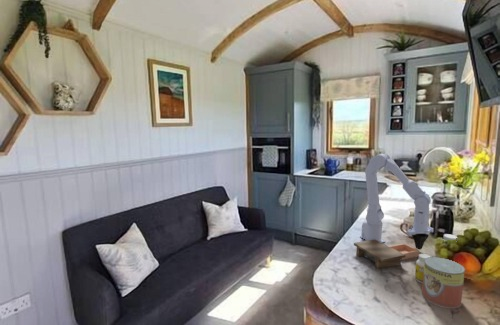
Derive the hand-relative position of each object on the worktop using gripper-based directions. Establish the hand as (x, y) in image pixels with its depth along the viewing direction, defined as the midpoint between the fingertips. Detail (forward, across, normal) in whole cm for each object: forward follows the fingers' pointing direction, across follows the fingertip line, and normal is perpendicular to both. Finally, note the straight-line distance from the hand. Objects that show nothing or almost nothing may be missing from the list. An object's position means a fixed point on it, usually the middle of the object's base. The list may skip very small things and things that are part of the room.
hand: (418, 248), depth 132 cm
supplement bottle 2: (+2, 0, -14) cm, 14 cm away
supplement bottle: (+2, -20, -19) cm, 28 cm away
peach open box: (+1, -9, 0) cm, 10 cm away
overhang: (+1, -24, 0) cm, 24 cm away
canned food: (+2, -24, -29) cm, 38 cm away
